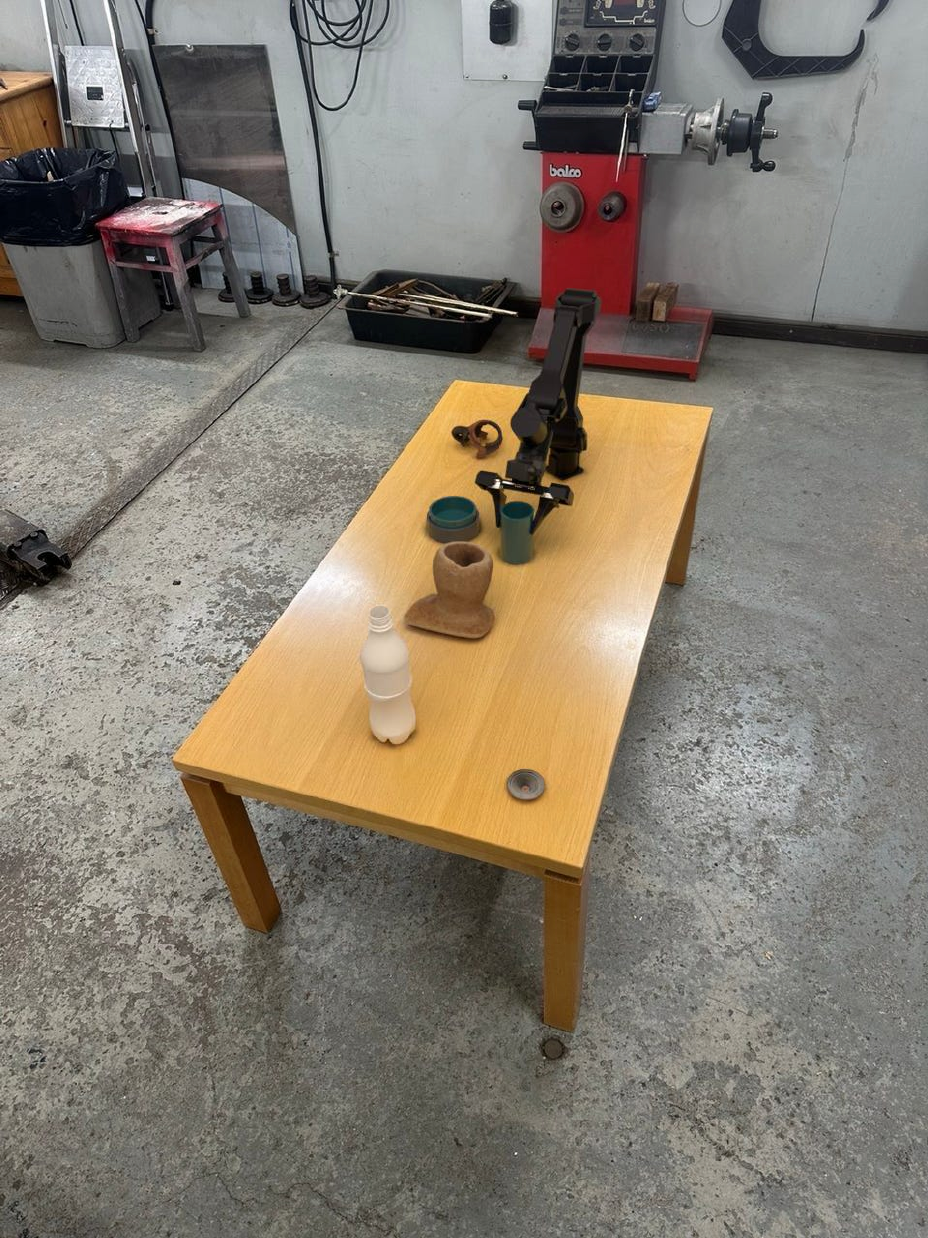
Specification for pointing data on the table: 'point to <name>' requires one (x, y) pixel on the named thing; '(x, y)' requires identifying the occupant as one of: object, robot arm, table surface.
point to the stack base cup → (453, 531)
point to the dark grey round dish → (525, 784)
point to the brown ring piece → (474, 433)
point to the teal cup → (516, 532)
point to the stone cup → (457, 593)
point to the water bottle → (387, 678)
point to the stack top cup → (452, 512)
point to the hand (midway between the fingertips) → (514, 531)
